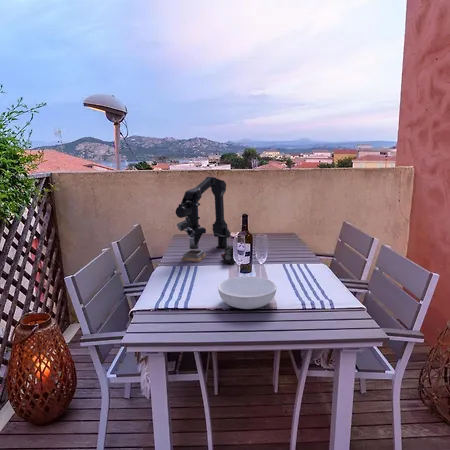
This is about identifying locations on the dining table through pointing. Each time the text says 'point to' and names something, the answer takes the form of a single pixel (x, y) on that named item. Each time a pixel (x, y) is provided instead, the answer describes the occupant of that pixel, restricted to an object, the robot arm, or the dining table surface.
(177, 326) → the dining table surface
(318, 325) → the dining table surface
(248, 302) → the serving bowl
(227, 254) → the night vision scope
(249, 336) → the dining table surface
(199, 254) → the mount
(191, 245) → the lens
